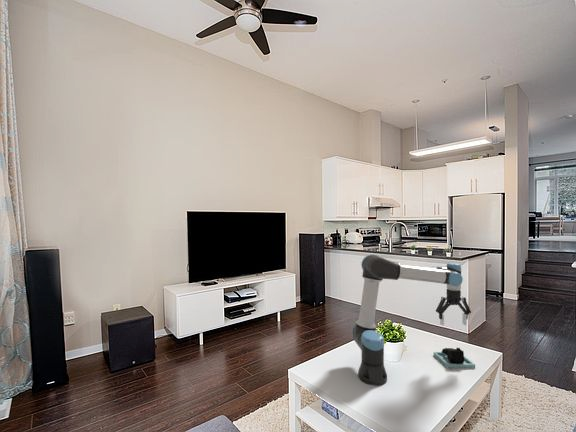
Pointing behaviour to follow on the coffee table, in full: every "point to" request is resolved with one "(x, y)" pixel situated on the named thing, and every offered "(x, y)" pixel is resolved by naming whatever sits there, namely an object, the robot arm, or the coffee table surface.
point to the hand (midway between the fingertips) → (453, 324)
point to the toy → (454, 355)
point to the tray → (444, 360)
